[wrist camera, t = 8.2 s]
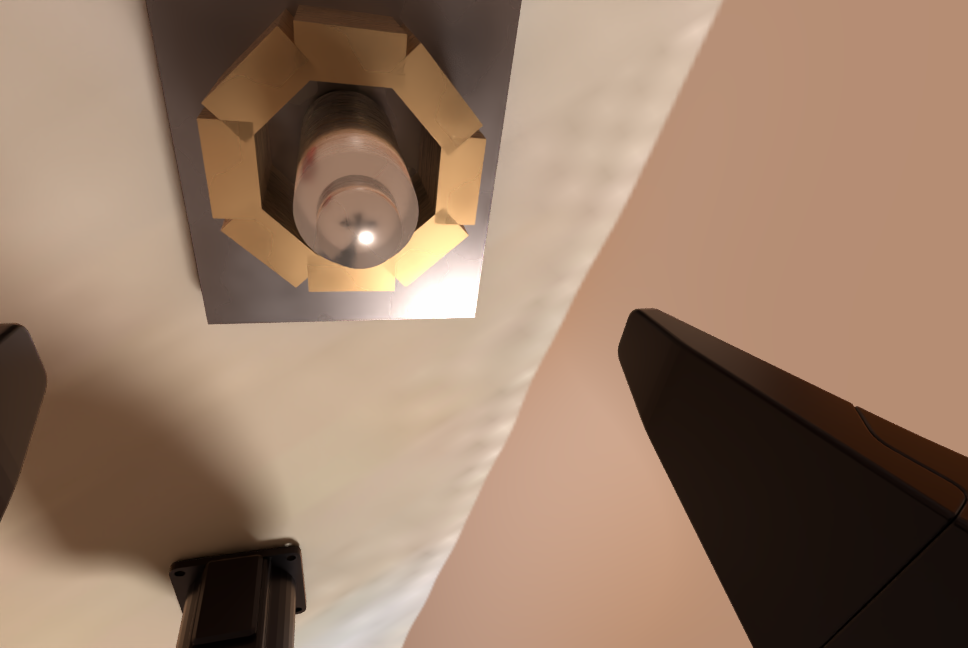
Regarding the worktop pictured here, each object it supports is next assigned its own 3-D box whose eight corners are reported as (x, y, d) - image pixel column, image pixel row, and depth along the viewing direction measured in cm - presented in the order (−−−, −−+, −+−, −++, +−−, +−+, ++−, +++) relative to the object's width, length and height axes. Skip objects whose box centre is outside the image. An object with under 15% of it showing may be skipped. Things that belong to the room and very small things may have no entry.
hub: (445, 240, 20) (465, 290, 17) (240, 237, 18) (224, 292, 15) (468, 26, 16) (499, 45, 13) (207, -8, 14) (179, 6, 11)
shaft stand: (468, 301, 23) (523, 439, 17) (213, 306, 20) (163, 472, 14) (525, -113, 15) (669, -148, 9) (122, -197, 12) (-85, -334, 6)
